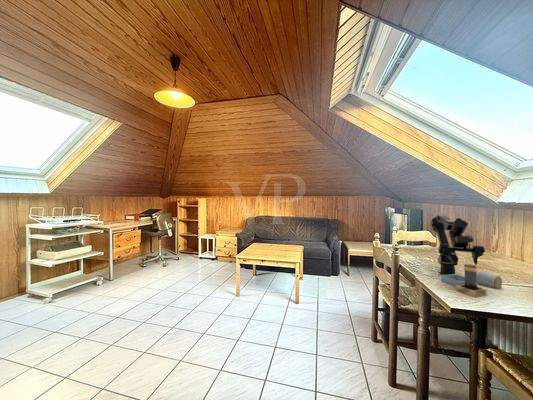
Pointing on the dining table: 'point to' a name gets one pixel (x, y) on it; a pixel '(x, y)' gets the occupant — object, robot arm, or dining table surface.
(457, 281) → the tray
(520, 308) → the dining table surface
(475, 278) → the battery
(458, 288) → the brown wooden square box
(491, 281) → the grey cylinder
